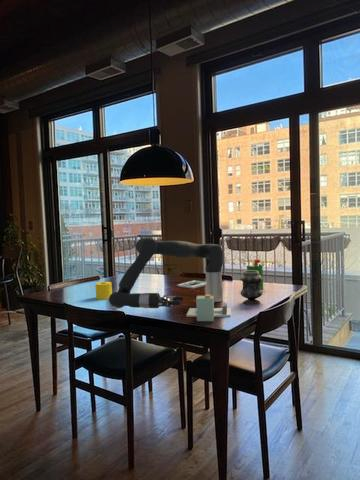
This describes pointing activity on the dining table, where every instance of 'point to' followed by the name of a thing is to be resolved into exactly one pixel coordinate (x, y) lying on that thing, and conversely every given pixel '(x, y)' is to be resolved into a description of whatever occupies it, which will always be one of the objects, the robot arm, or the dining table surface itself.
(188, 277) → the dining table surface
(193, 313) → the din plate
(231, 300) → the dining table surface
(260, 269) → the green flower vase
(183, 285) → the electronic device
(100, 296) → the yellow cylindrical piece
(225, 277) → the dining table surface
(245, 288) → the apothecary jar
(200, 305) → the block
